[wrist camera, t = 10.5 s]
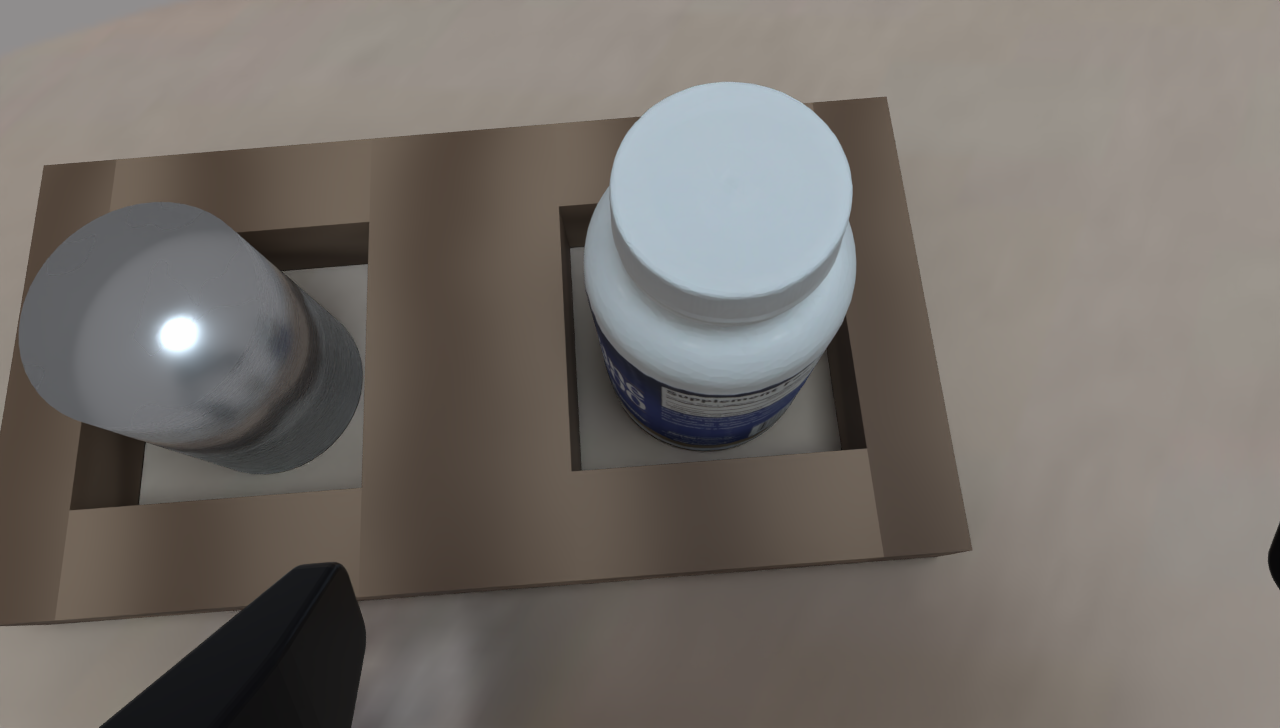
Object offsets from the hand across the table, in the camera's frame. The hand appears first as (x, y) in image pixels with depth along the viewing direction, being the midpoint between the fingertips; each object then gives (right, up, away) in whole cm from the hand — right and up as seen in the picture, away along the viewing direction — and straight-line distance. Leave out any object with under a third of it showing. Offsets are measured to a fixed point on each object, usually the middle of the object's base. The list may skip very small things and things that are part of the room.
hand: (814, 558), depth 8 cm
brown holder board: (-6, +2, +15) cm, 16 cm away
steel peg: (-12, +1, +15) cm, 19 cm away
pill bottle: (0, +2, +15) cm, 15 cm away
